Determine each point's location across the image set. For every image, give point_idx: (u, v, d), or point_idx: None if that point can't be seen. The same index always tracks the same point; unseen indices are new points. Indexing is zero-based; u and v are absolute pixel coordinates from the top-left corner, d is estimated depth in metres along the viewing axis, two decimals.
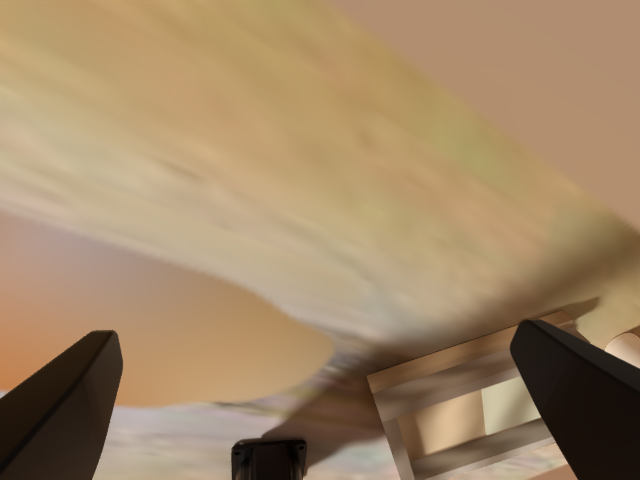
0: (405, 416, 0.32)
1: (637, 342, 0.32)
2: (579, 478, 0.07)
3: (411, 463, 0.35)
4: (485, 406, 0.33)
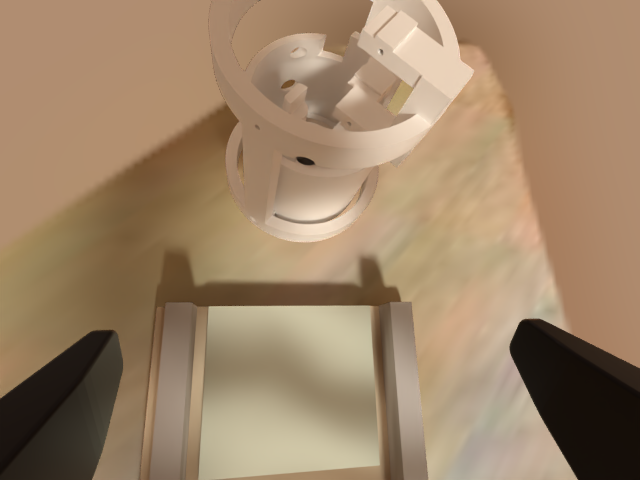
0: None
1: None
2: (579, 478, 0.07)
3: None
4: (294, 469, 0.18)
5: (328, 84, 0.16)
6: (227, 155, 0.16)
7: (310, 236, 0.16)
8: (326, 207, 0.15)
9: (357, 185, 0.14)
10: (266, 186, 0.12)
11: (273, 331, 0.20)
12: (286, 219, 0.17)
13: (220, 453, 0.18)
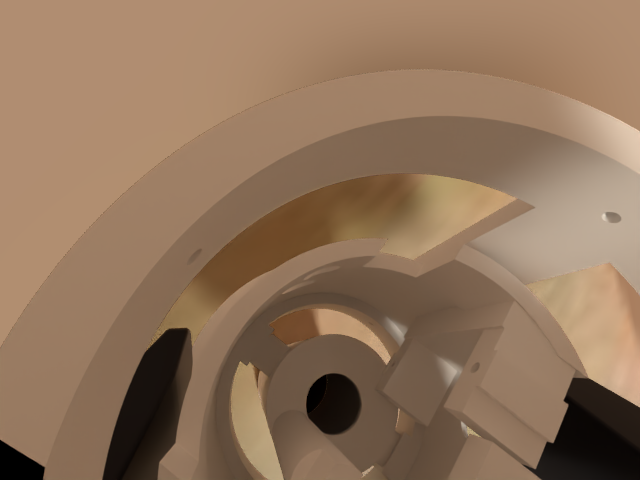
0: None
1: (259, 377, 0.14)
2: None
3: None
4: None
5: None
6: None
7: None
8: None
9: None
10: None
11: None
12: None
13: None
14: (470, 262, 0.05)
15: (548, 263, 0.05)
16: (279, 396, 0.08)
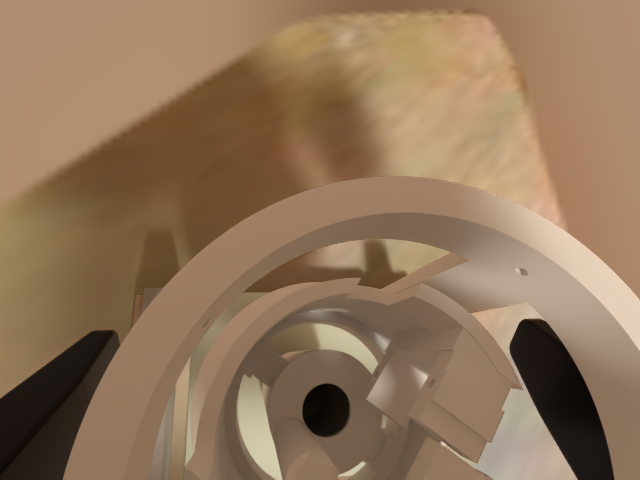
0: None
1: (263, 384, 0.15)
2: (578, 478, 0.07)
3: None
4: None
5: (357, 300, 0.09)
6: (193, 416, 0.10)
7: None
8: None
9: None
10: None
11: None
12: None
13: None
14: (427, 297, 0.07)
15: (488, 298, 0.06)
16: (279, 405, 0.09)
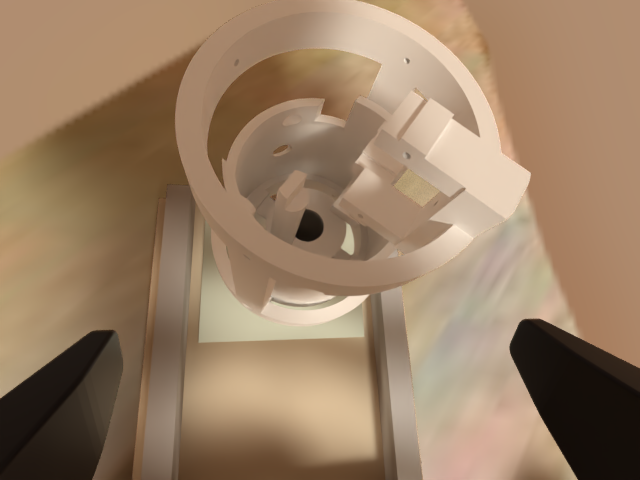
0: None
1: None
2: (579, 478, 0.07)
3: None
4: (285, 336, 0.20)
5: (328, 146, 0.14)
6: (213, 232, 0.14)
7: (314, 323, 0.14)
8: None
9: None
10: (261, 295, 0.10)
11: None
12: (285, 303, 0.14)
13: (218, 321, 0.19)
14: (363, 103, 0.11)
15: (398, 99, 0.11)
16: None
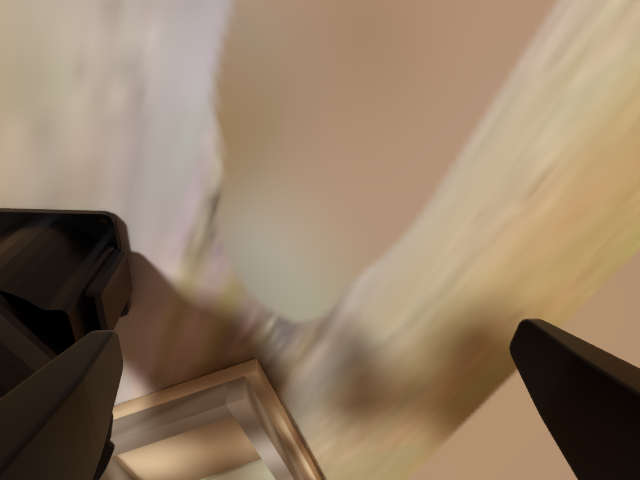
0: None
1: None
2: (579, 478, 0.07)
3: None
4: (213, 478, 0.29)
5: None
6: None
7: None
8: None
9: None
10: None
11: None
12: None
13: (260, 470, 0.29)
14: None
15: None
16: None
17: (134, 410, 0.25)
